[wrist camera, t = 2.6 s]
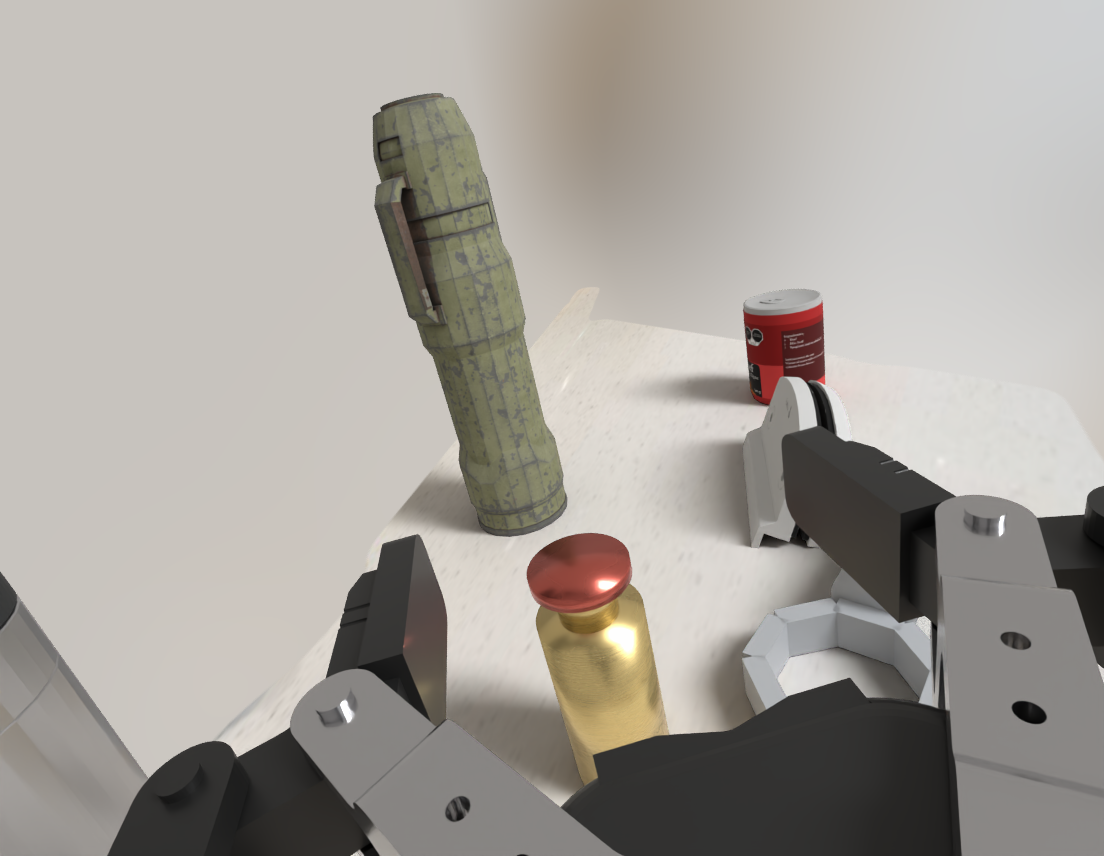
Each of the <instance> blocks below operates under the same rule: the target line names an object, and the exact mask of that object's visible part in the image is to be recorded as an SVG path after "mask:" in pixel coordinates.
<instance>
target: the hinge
mask: <svg viewBox="0 0 1104 856" xmlns="http://www.w3.org/2000/svg"><path fill="white" fill-rule="evenodd" d="M815 426H822V427H824V428H825V429H827V430H828V431H830V432H831V433H833V434H835V435H836V436H838V437H839V438H841V439H843V440H844V441H852V434H851V429H850V424H849V419H848V415H847V412H846V409H845V407H844V404H843V402H842V400H841V398H840V396H839V395H838V394H837V392H836V391H835V390H834V389H832V388H831V387H829V386H826V385H824V384H822V383H820V382H817V381H813V380H809V382H805V381H804V380H802V379H801V378H799V377H780V379H779V381H778V383H777V386H776V388H775V391H774V394H773V397H772V399H771V402H770V405H769V408H768V410H767V413H766V416H765V419H764V421H763V424H762V426H761V427H760V428H757V429H755V430H753V431H750V432H749V433H748V434H747V436H746V439H745V442H744V445H743V448H742V450H743V461H744V472H745V483H746V494H747V505H748V517H749V528H750V539H751V547H752V548H759V545H760V543H761V540H762V537H763V534H767V535H770V536H773V537H776V538H779V539H782V540H785V541H788V542H789V540H790V537H793V538H796V536H797V533H798V530H799V528H800V527H799V526H798V525H797V524H796V523H795V522H794V520H793V518H792V517H791V515H790V512H789V510H788V507H787V504H786V499H785V488H784V475H783V462H782V449H781V443H782V438H783V437H784V435H786V434H790V433H793V432H797V431H801V430H804V429H808V428H812V427H815ZM800 532H801V537H802V540H806V542H807V546H808V547H816V548H819V546H818V545H817V544H816V543H815V542H814V541H813V540H812V539H811V538H810V537H809V536H808V535H807V534H806V533H805V532H804V531H803V530H802V529H801V528H800Z"/></svg>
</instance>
